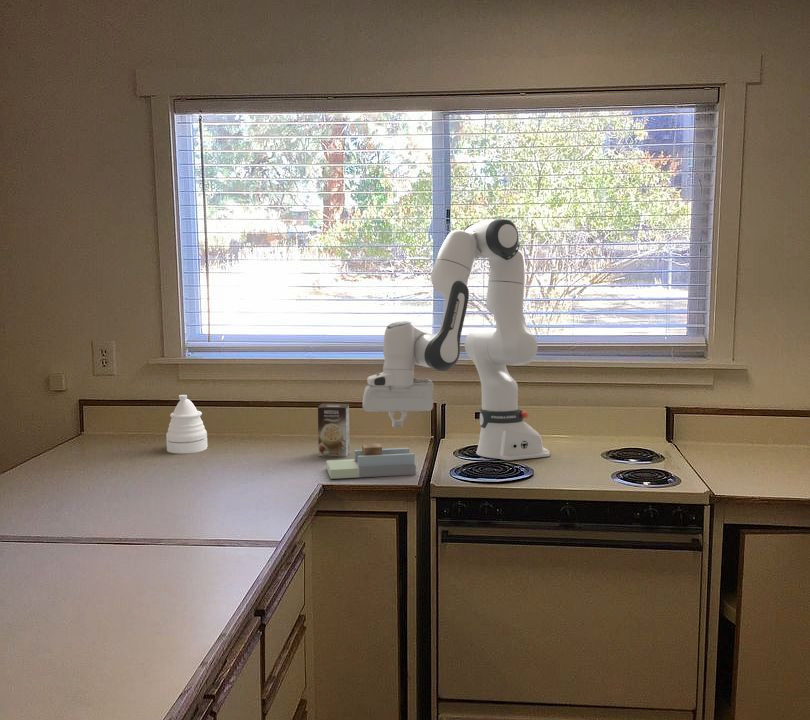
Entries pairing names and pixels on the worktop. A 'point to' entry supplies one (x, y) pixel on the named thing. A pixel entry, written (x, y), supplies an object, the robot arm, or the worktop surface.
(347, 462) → the channel
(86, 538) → the worktop surface
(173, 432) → the honey pot
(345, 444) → the coffee box
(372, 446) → the walnut block
